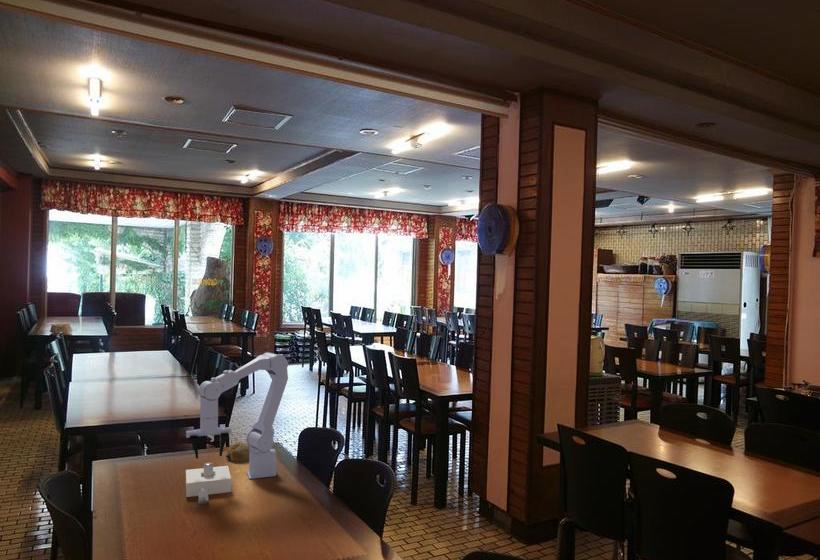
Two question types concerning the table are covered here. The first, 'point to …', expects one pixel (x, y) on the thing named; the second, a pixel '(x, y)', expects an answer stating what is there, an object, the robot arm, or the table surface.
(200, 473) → the hole block
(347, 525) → the table surface
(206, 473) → the tall steel pin
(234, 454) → the bread roll
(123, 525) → the table surface
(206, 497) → the short steel pin
